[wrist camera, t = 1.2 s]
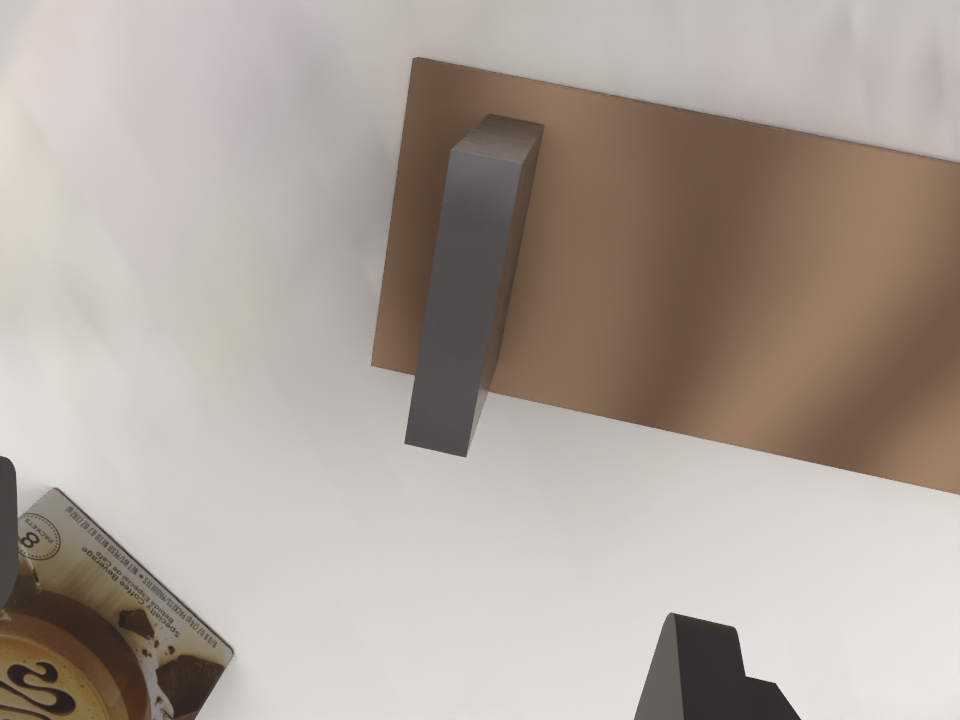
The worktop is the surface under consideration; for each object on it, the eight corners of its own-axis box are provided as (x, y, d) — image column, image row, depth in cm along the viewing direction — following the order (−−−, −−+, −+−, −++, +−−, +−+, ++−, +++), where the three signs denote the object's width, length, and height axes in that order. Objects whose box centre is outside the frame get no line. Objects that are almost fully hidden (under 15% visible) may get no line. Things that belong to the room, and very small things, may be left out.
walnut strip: (375, 358, 28) (309, 458, 22) (417, 57, 25) (351, 79, 19) (1385, 579, 26) (1613, 755, 20) (1587, 286, 23) (1937, 394, 17)
